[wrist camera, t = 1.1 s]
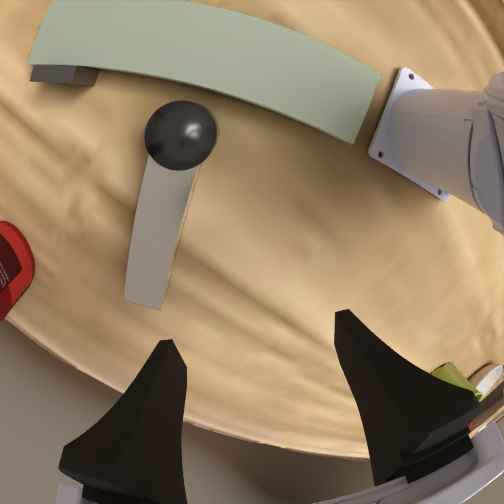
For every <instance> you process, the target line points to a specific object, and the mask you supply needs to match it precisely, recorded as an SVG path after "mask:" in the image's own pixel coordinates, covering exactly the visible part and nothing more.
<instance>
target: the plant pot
mask: <svg viewBox="0 0 504 504" xmlns="http://www.w3.org/2000/svg"><path fill="white" fill-rule="evenodd" d="M431 375H433V376H435V377H437V378H439V379H441V380H444V381H446V382H448V383H451V384H453V385H456V386H459V387H462V388H465V389H468V390H471V391H473V393H474V394H475V396H476V397H477V399H478V401H480V400H481V398H482V397H483V393H482V392H479V391H478V390H477V389H476V388H474V387H473V386H472V385H471V384H470V383H469V381H468V380H467V379H466V378H465V377H464V376H463V375H462V373H461V372H460V371H459V370H458V369H457V368H456V366H455V365H454V364H453V363H446V364H445V365H444V366H443V367H440V368H437V369H436V370H434V371H433V372H432V373H431Z"/></svg>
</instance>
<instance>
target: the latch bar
mask: <svg viewBox="0 0 504 504" xmlns="http://www.w3.org/2000/svg"><path fill="white" fill-rule="evenodd" d="M218 135H219V127H218V122H217V120H216V118H215V116H214V114H213V113H212V112H211V111H210V110H209V109H208V108H206V107H204V106H202V105H200V104H197V103H193V102H189V101H174V102H170V103H168V104H166V105H164V106H162V107H160V108H159V109H158V110H157V111H156V112H155V113H154V114H153V115H152V116H151V118H150V119H149V121H148V123H147V126H146V130H145V144H146V148H147V151H148V153H149V156H148V160H147V164H146V168H145V172H144V176H143V181H142V185H141V190H140V194H139V199H138V204H137V209H136V214H135V219H134V225H133V231H132V237H131V243H130V250H129V257H128V264H127V272H126V281H125V290H124V300H126V301H130V302H133V303H136V304H139V305H143V306H146V307H149V308H153V309H156V310H160V311H161V308H162V305H163V301H164V298H165V295H166V292H167V288H168V284H169V279H170V275H171V271H172V267H173V263H174V259H175V255H176V251H177V247H178V243H179V239H180V235H181V231H182V228H183V224H184V220H185V217H186V213H187V210H188V206H189V203H190V199H191V196H192V193H193V189H194V186H195V183H196V180H197V176H198V173H199V170H200V167H201V164H202V162H203V161H204V160H205V159H206V158H207V157H208V156H209V154H210V153H211V151H212V149H213V148H214V146H215V144H216V142H217V139H218Z"/></svg>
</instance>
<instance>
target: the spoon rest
mask: <svg viewBox="0 0 504 504" xmlns="http://www.w3.org/2000/svg"><path fill="white" fill-rule="evenodd" d="M502 369H503V367H502V365H500V364H491V365H488V366H486V367H484V368H482V369H480V370H479V371H478V372H476V373H475V374H474V375H473V376H472V377H471V378H470V379H469V380H468V381H469V383H470V384H471V385H472V386H473V387H474V388H476V389H477V390H478V391H479V392H482V393H483V396H484V395H485V394H486V393H487V391H488V390H489V389H490V388H491V387H492V386H493V384H494V383H495V382H496V381H497V379H498V378H499V376H500V374H501V372H502Z"/></svg>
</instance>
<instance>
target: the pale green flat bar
mask: <svg viewBox="0 0 504 504" xmlns="http://www.w3.org/2000/svg"><path fill="white" fill-rule="evenodd" d="M27 65H73V66H81V67H86V68H93V69H103V70H111V71H119V72H126V73H132V74H139V75H144V76H150V77H155V78H160V79H165V80H170V81H174V82H178V83H183V84H187V85H191V86H195V87H199V88H203V89H206V90H210V91H213V92H217V93H220V94H224V95H227V96H230V97H233V98H237V99H240V100H243V101H246V102H249V103H252V104H255V105H257V106H260V107H263V108H266V109H269V110H271V111H274V112H277V113H279V114H282V115H284V116H287V117H289V118H292V119H294V120H297V121H299V122H302V123H304V124H306V125H309V126H311V127H313V128H316V129H318V130H320V131H322V132H324V133H327V134H329V135H331V136H333V137H335V138H337V139H339V140H341V141H344V142H347V143H350V144H354V142H355V140H356V137H357V135H358V132H359V130H360V128H361V125H362V123H363V120H364V118H365V115H366V113H367V110H368V108H369V105H370V103H371V100H372V98H373V95H374V93H375V90H376V87H377V85H378V82H379V80H380V77H381V75H380V74H379V73H377V72H376V71H374V70H372V69H371V68H369V67H367V66H366V65H364V64H362V63H360V62H359V61H357V60H355V59H353V58H351V57H349V56H348V55H346V54H344V53H342V52H340V51H338V50H336V49H334V48H332V47H330V46H328V45H326V44H324V43H321V42H319V41H317V40H315V39H313V38H310V37H308V36H306V35H303V34H301V33H298V32H296V31H293V30H291V29H288V28H286V27H283V26H280V25H277V24H274V23H272V22H269V21H266V20H263V19H259V18H256V17H253V16H250V15H246V14H243V13H239V12H235V11H231V10H227V9H223V8H219V7H214V6H210V5H205V4H199V3H194V2H188V1H181V0H53V1H52V2H51V4H50V6H49V8H48V11H47V13H46V15H45V17H44V19H43V22H42V24H41V27H40V29H39V32H38V34H37V37H36V39H35V42H34V45H33V48H32V51H31V54H30V57H29V60H28V63H27Z"/></svg>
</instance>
